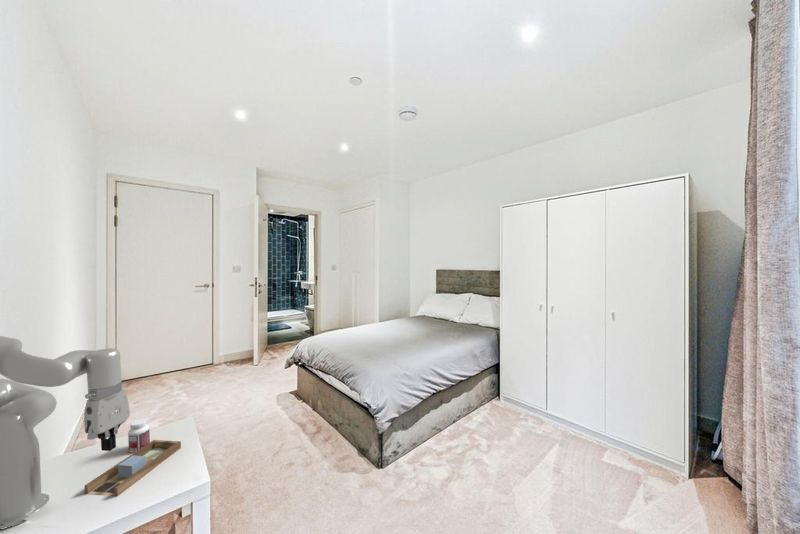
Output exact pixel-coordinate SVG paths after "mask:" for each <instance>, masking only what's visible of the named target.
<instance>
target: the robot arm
mask: <svg viewBox="0 0 800 534" xmlns="http://www.w3.org/2000/svg"><path fill="white" fill-rule="evenodd" d="M22 348H23V343H22V341H21V340H20V339H17V338H14V337H7V336H5V335H2V336H1V335H0V375H1V376H3V377H4V378H0V529H2V528H5V527H9V526H12V527H14V526H17V525H20V524H22V523H24V522H26V521H27V519H26V518H29V517H30V516H33V515H34V514H36V513H37V512H38V511H40V510H41V509H43V508H44V507H45V505H47V504H48V503H49V500H50V495H49V494H47V493H42V477H41V454H40V453H41V452H40V451H41V450H40V441H39V438H38V436H37V435H36V434H35V432H34V428H35V427H37V425H38V424H40V423H41V422H43V421H45V419H47V418H48V417H49V416H50V415H52V414H53V412H54V411H55V409H56V408H57V404H58V403H57V399H56V396H54V395H53V394H52V393H50V392H48V391H46V390H43V389H41V388H39V387H44V388H45V387H46V388H54V387H55V388H56V387H61V386H64V385H66V384H68V383H71V381H73V380H75V379H76V378H78V377H81V376H83V375H85V374H86V377H87V379H86V381H87V394H85V395H84V398H85V399H87V400H86V403H85V407H84V414H83V415H84V416H83V417H84V419H83V420H84V421H83V422H84V423H83V424H84V425H83V427H84V431H85V434H87V436H86V439H87V440H94V439H95V440H96V439H99V440H100V443H101V444H100V445H101V446H100V448H101V451H104V452H110V451H112V450H114V449H116V448H117V440H116V436H117V434H118V432H119V429H120V428H121V425H122V424H124V423H125V422H126V421H127V420H128V419H129V418H130V414H131V413H130V405H129V404H130V403H129V399H128V395H127V392H126V390H125V389H124V388H123V385H122V384H123V383H122V368H121V367H122V365H121V351H120V350H119V349H117V348H103V349H97V350H89V349H88V350H84V349H83V350H78V349H77V350H73V351H70V352H67V353H64V354H62V355H60V356H58V357H56V358H48V357H42V356H36V355H32V354H29V353H26V352H24V351H23V350H22ZM5 378H6V379H5ZM34 386H35V387H34ZM37 387H38V388H37Z"/></svg>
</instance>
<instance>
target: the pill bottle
mask: <svg viewBox="0 0 800 534" xmlns="http://www.w3.org/2000/svg"><path fill="white" fill-rule="evenodd" d="M129 427H130V429H129V430H128V432H127V437H128V441H127V442H128V453H129V454H133V453H135V452H136V451H138V450H139V449H141V448H142V447H144V446H145V445H147V444H148V443H150V442H151V436H150V435H151V433H150V431H151V430H150V426H149V424H147V419H146V418H140V419H136V420H134V421H132V422H131V423H130V425H129Z"/></svg>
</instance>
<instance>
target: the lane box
mask: <svg viewBox="0 0 800 534" xmlns="http://www.w3.org/2000/svg"><path fill="white" fill-rule="evenodd" d="M181 449H182V441H180V440H178V441H177V440H164V439H163V440H162V439H161V440H159V439H153V440H150V443H148V444H147V445H145V446H144V447H142V448H141V449H139V450H138V451H136V452H135V453H131V454H130V455H129V456H127V457H126V458H124V459H123V460H122V461H119V462H118V463H117V464H115V465H113V467H112V466H111V468H109V469H107V470H106V471H105V472H103V473H101V474H100V475H99V476H97V477H95V478H94V479H93V480H91V481H89V482H87V483H86V484H85V485H84V494H85V495H92V496H93V495H96V496H108V497H109V496H110V497H119V496H120V495H122V494H123V493H124V492H125V491H127V490H128V489H129V488H130V487H132V486H133V485H135V484H136V483H137V482H138V481H140V480H141V479H143V477H145V476H146V475H148V474H149V473H150V472H152V471H153V470H155V468H157V467H158V466H159V465H161V464H162V463H164V462H165V461H166V460H168V459H169V458H170V457H171V456H172V455H174V454H175V453H177V452H178V451H179V450H181ZM132 455H133V456H146V465H145V466H144V467H142V468H141V469H140V470H138V471H137V472H135V473H134V474H133V475H131V476H130V477H129V478H124V477H118V465H119V464H120V463H122V462H123V461H125V460H126V459H128V458H129V457H131V456H132Z"/></svg>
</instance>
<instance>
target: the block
mask: <svg viewBox="0 0 800 534" xmlns="http://www.w3.org/2000/svg"><path fill="white" fill-rule="evenodd" d="M131 455H132V454H131ZM128 457H129V456H128ZM125 459H126V458H125ZM122 461H123V460H122ZM119 463H120V462H119ZM145 465H146V456H133V455H132V456H131V457H129V458H128V459H126V460H125V461H123V462H122V463H120V464H119V465H118V477H124V478H129V477H130V476H131V475H133V474H134V473H135V472H137V471H138V470H140V469H141V468H142V467H144V466H145Z"/></svg>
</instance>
